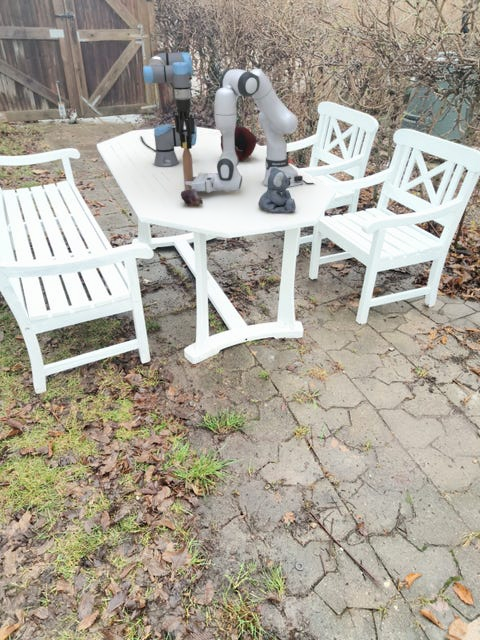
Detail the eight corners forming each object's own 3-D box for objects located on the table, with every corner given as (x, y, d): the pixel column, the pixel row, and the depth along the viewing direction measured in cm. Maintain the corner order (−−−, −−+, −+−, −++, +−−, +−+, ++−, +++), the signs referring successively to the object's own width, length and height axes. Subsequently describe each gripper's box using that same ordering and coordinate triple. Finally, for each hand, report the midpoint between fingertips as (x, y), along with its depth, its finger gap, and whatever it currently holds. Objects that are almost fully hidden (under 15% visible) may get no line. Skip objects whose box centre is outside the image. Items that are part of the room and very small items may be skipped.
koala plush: (296, 213, 220) (299, 173, 208) (260, 215, 219) (260, 174, 207) (290, 201, 234) (292, 163, 223) (256, 202, 233) (256, 164, 222)
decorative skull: (217, 132, 306) (217, 129, 282) (251, 124, 305) (253, 121, 281) (224, 164, 313) (224, 164, 289) (257, 157, 312) (260, 156, 288)
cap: (185, 146, 236) (184, 141, 234) (191, 147, 234) (191, 142, 233) (181, 148, 233) (181, 143, 232) (187, 148, 232) (187, 144, 230)
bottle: (193, 190, 250) (190, 142, 235) (194, 193, 245) (191, 144, 231) (184, 191, 249) (181, 142, 234) (185, 194, 245) (181, 145, 230)
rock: (196, 202, 238) (178, 205, 233) (194, 185, 234) (176, 188, 230) (205, 205, 228) (187, 208, 224) (203, 188, 224) (185, 191, 220)
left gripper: (165, 97, 222) (169, 147, 236) (189, 101, 214) (193, 151, 227) (176, 95, 227) (180, 144, 240) (200, 99, 218) (203, 149, 232)
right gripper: (215, 170, 249) (191, 169, 250) (208, 181, 232) (182, 180, 234) (215, 181, 252) (191, 180, 254) (208, 193, 235) (183, 192, 237)
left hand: (186, 147), depth 234 cm, fingers closed on cap, 4 cm apart
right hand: (187, 180), depth 244 cm, fingers closed on bottle, 5 cm apart
